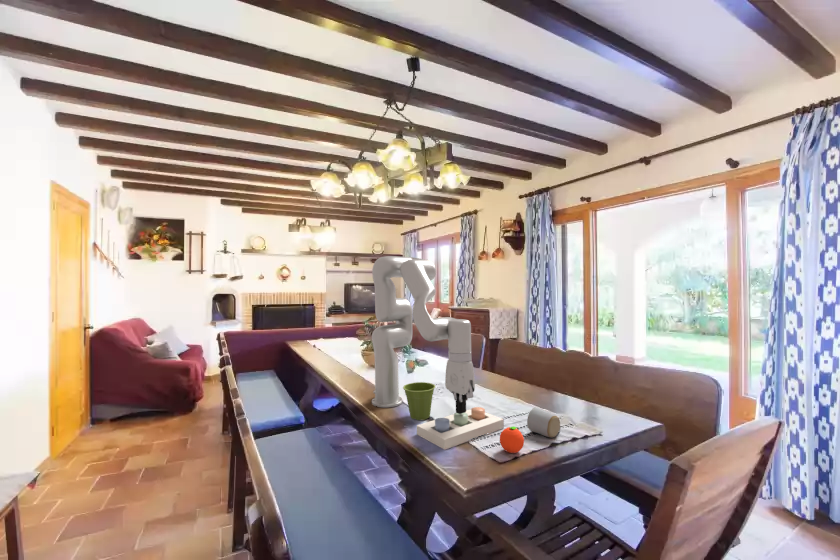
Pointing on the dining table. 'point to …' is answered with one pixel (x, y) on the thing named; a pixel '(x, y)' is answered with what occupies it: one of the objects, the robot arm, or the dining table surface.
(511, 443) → the clementine
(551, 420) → the grey canister
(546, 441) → the dining table surface
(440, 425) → the blue button
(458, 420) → the green button
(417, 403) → the plant pot
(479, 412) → the terracotta button
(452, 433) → the console
